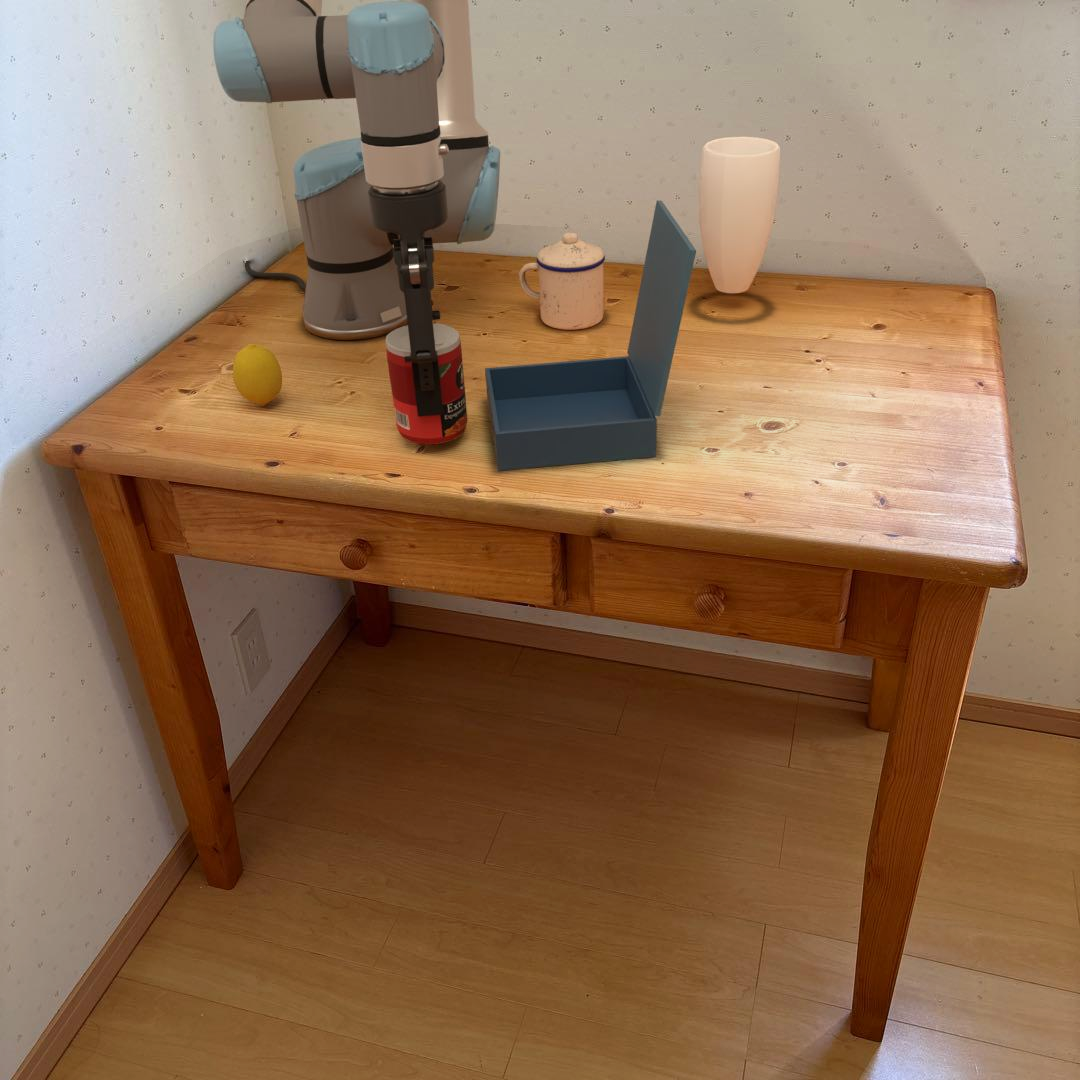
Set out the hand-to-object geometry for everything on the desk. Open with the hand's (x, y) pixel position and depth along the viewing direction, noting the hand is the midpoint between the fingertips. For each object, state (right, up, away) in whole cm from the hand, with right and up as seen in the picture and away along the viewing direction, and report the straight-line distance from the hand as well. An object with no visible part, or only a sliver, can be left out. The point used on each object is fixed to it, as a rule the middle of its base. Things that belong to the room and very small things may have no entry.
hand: (429, 395), depth 114 cm
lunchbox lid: (+24, +9, -3) cm, 26 cm away
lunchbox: (+15, -3, +4) cm, 16 cm away
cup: (+38, +16, +31) cm, 52 cm away
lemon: (-21, 0, +12) cm, 24 cm away
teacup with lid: (+15, +15, +30) cm, 37 cm away
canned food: (0, -4, +2) cm, 4 cm away
